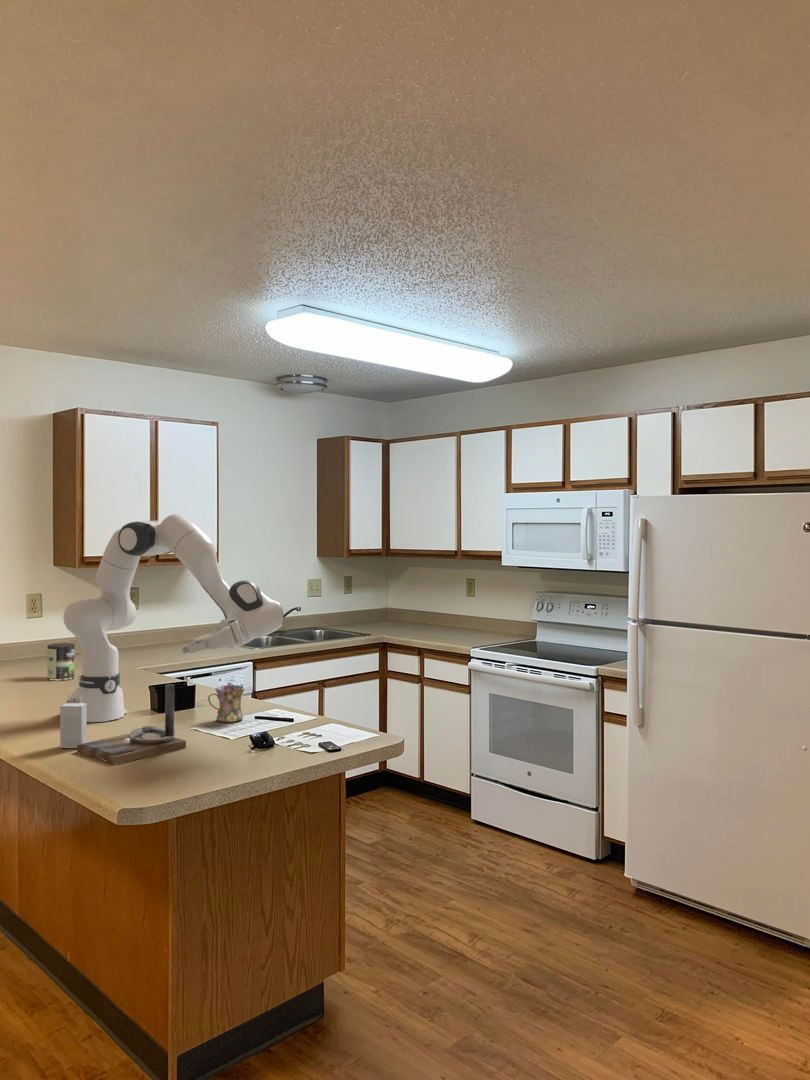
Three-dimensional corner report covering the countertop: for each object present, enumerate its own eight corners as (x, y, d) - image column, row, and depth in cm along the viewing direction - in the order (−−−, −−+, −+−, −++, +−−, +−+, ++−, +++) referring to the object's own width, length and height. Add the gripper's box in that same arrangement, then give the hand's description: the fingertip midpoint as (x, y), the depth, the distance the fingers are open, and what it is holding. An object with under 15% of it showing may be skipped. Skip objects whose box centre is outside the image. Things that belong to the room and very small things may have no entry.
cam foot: (109, 750, 214) (109, 690, 214) (142, 732, 234) (142, 677, 234) (158, 752, 213) (158, 692, 212) (187, 734, 232) (187, 678, 232)
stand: (76, 751, 221) (76, 743, 221) (147, 736, 238) (147, 728, 238) (115, 764, 209) (115, 755, 209) (185, 747, 226) (186, 739, 226)
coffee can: (78, 676, 335) (78, 643, 335) (67, 681, 325) (68, 646, 325) (54, 676, 335) (54, 642, 335) (42, 681, 325) (42, 646, 325)
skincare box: (87, 745, 228) (87, 702, 228) (81, 749, 224) (81, 706, 224) (65, 745, 228) (65, 702, 228) (59, 749, 224) (59, 706, 224)
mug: (237, 715, 266) (237, 683, 266) (249, 721, 259) (249, 688, 258) (202, 720, 259) (202, 687, 259) (213, 726, 252) (213, 692, 252)
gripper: (219, 624, 240) (174, 641, 234) (237, 620, 222) (190, 639, 216) (226, 644, 241) (182, 661, 234) (245, 642, 223) (198, 661, 216)
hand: (186, 650), depth 225 cm, fingers open, 8 cm apart
